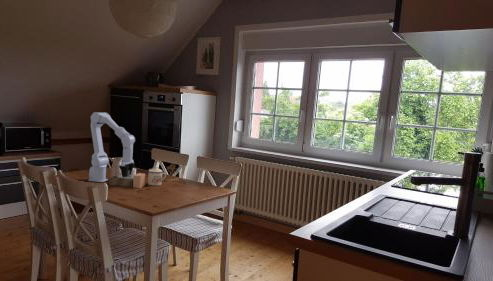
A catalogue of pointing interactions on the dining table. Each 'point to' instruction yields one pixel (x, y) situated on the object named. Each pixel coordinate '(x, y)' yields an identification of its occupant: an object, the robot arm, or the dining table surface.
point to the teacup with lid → (155, 176)
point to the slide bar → (126, 176)
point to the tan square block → (139, 180)
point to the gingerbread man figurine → (172, 175)
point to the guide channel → (120, 181)
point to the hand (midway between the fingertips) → (126, 175)
